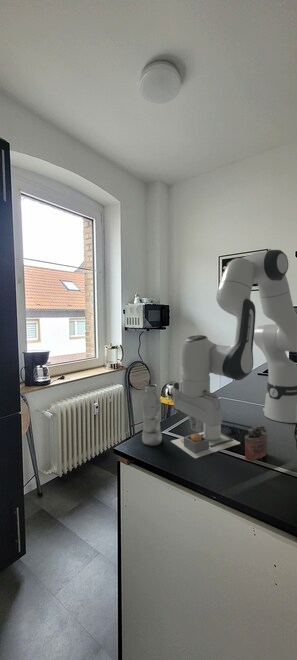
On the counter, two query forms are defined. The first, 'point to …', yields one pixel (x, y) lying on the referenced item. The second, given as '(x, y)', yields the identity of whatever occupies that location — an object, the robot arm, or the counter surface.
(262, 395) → the counter surface
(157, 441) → the plastic bottle
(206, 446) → the white rectangular tray
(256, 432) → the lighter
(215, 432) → the eye dropper bottle
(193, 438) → the button
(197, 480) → the counter surface
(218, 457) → the counter surface
